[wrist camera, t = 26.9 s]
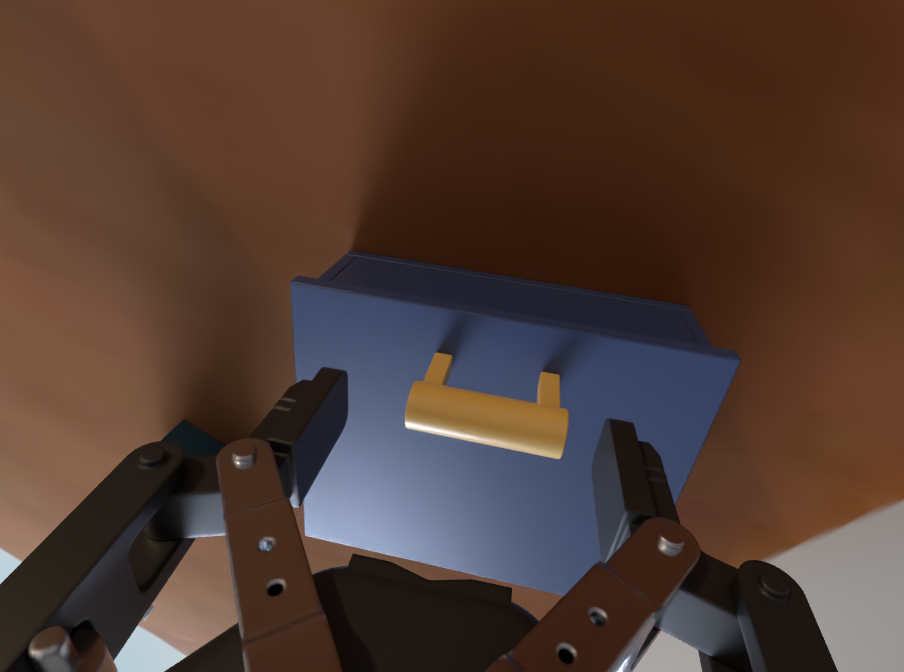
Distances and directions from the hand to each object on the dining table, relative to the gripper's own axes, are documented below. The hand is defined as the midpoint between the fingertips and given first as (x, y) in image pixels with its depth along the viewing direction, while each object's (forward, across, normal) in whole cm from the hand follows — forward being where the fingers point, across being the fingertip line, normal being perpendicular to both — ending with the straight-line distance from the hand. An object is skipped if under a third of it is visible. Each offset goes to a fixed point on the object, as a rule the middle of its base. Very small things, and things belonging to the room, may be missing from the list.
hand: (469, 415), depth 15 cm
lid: (+4, -1, +5) cm, 7 cm away
